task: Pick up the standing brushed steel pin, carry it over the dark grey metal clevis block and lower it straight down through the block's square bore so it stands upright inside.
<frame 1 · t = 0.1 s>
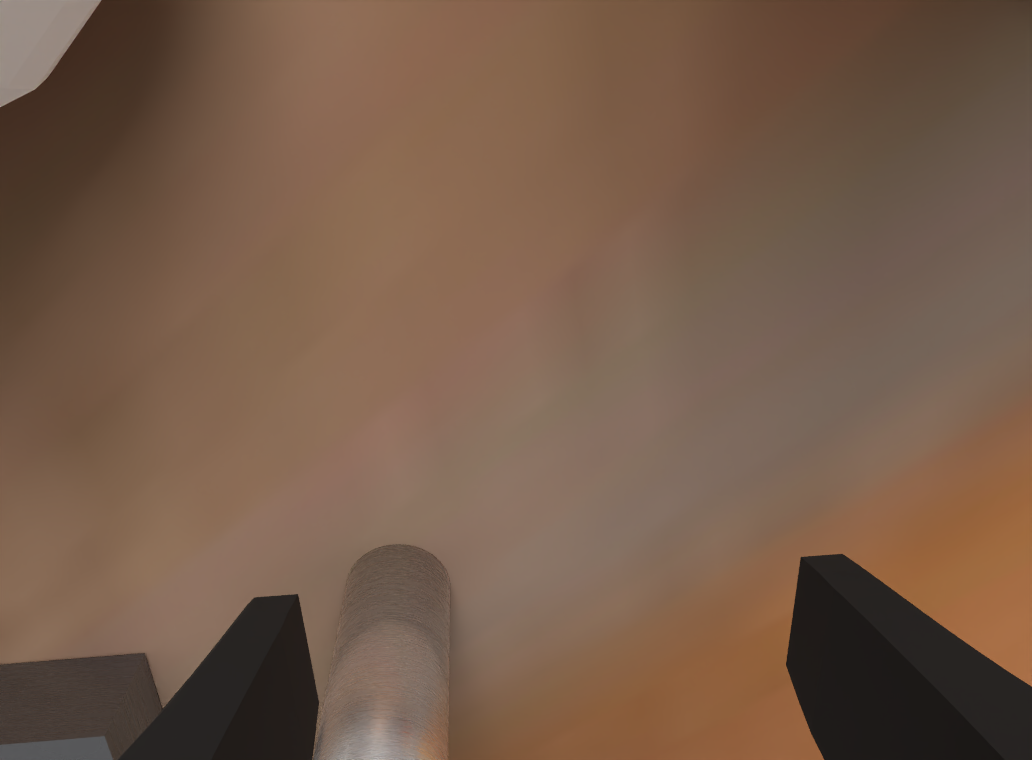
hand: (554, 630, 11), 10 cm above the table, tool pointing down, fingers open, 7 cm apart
pin: (398, 586, 23), on the table
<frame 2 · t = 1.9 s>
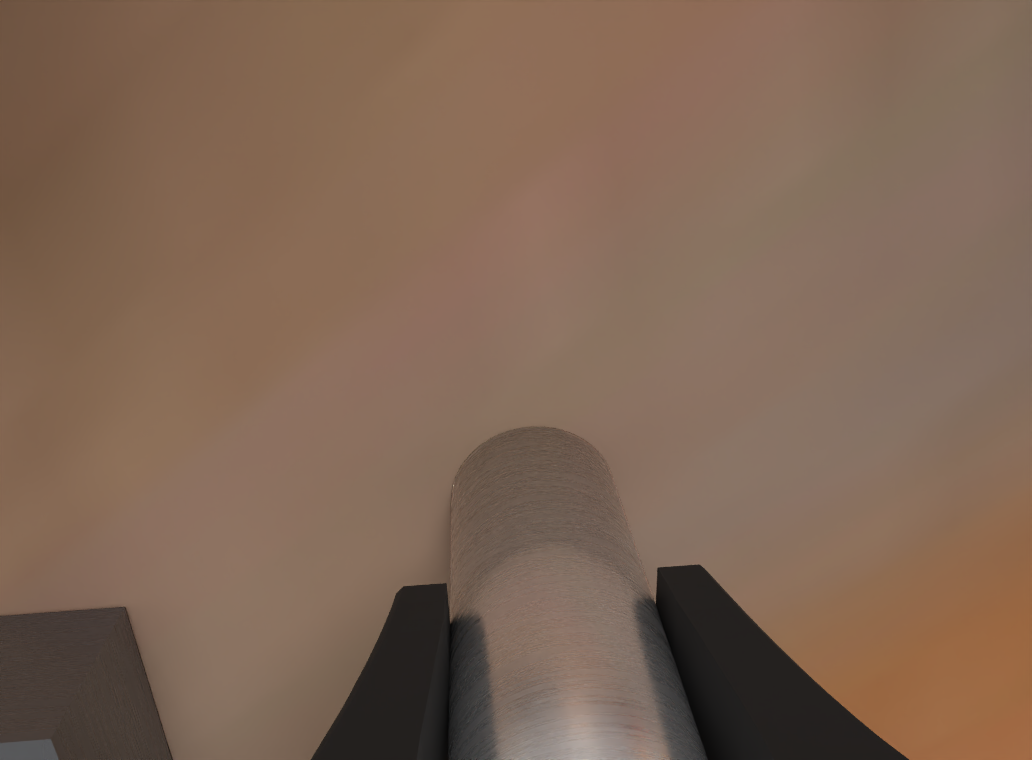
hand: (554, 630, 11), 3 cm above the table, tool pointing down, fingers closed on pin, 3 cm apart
pin: (533, 499, 15), on the table, touching gripper
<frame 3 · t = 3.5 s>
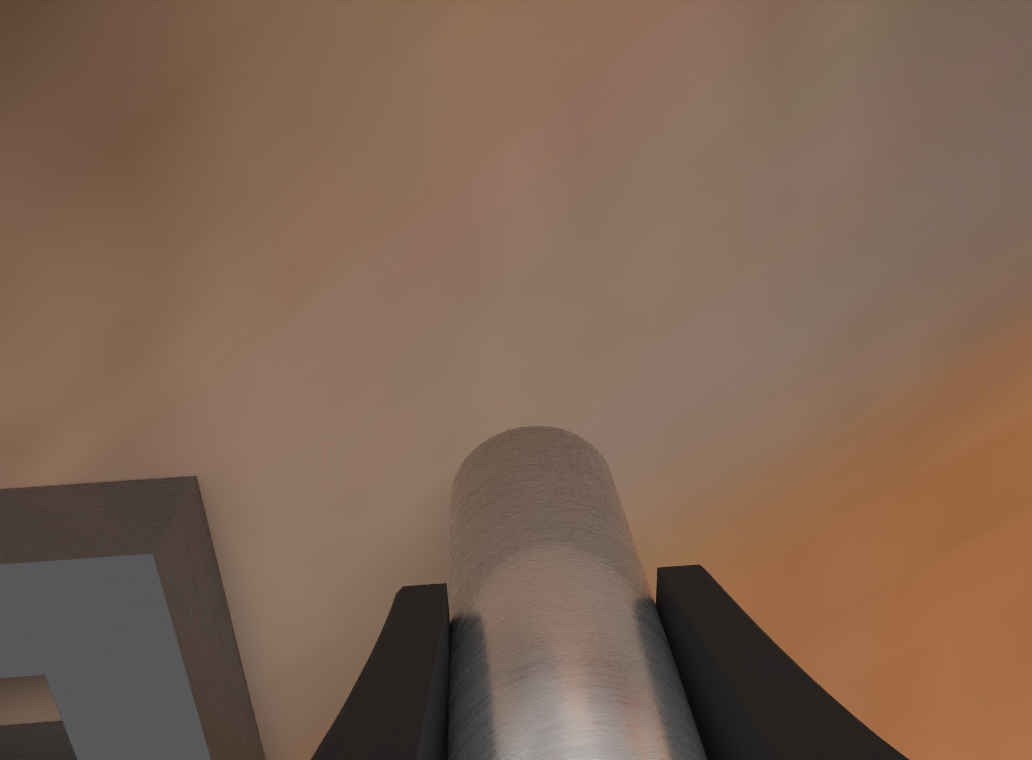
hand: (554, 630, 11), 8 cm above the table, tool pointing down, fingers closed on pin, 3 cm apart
clevis block: (35, 659, 21), on the table
pin: (533, 498, 15), point 5 cm above the table, touching gripper
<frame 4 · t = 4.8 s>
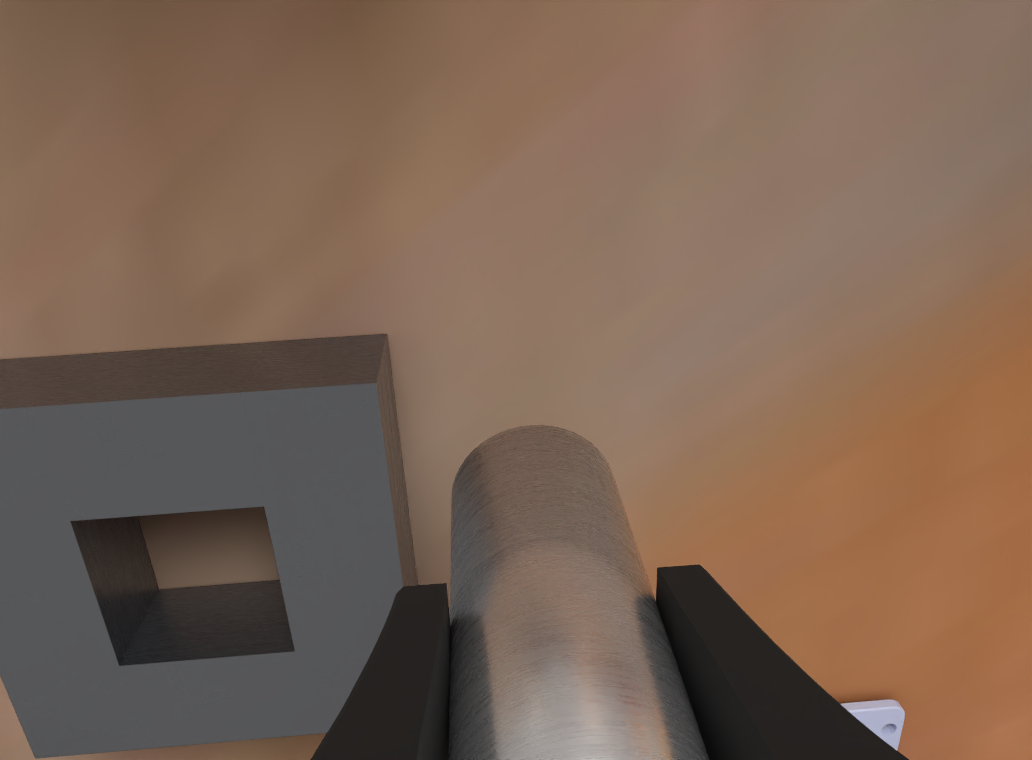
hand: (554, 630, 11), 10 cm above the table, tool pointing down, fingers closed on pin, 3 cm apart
clevis block: (221, 519, 22), on the table
pin: (533, 497, 15), point 7 cm above the table, touching gripper
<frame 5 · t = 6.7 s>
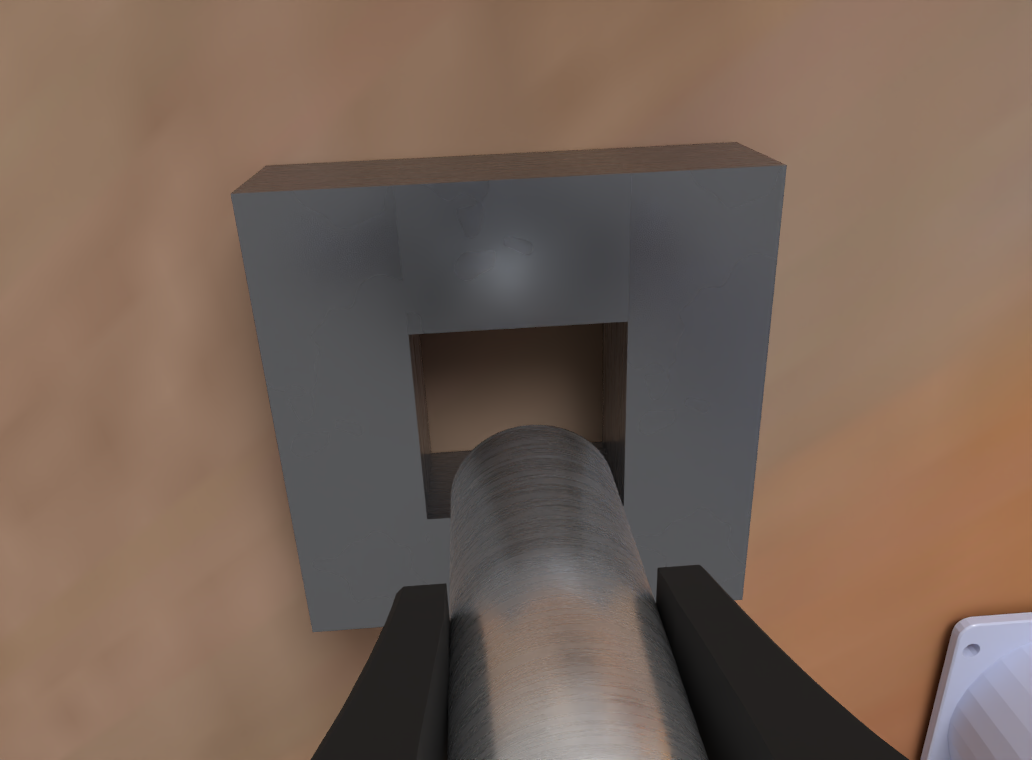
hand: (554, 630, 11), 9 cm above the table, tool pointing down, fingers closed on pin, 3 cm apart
clevis block: (513, 369, 20), on the table
pin: (533, 497, 15), point 6 cm above the table, touching gripper
when the fingers open (4 cm above the table, at t = 8.0 s): pin stays where it is, resting in clevis block.
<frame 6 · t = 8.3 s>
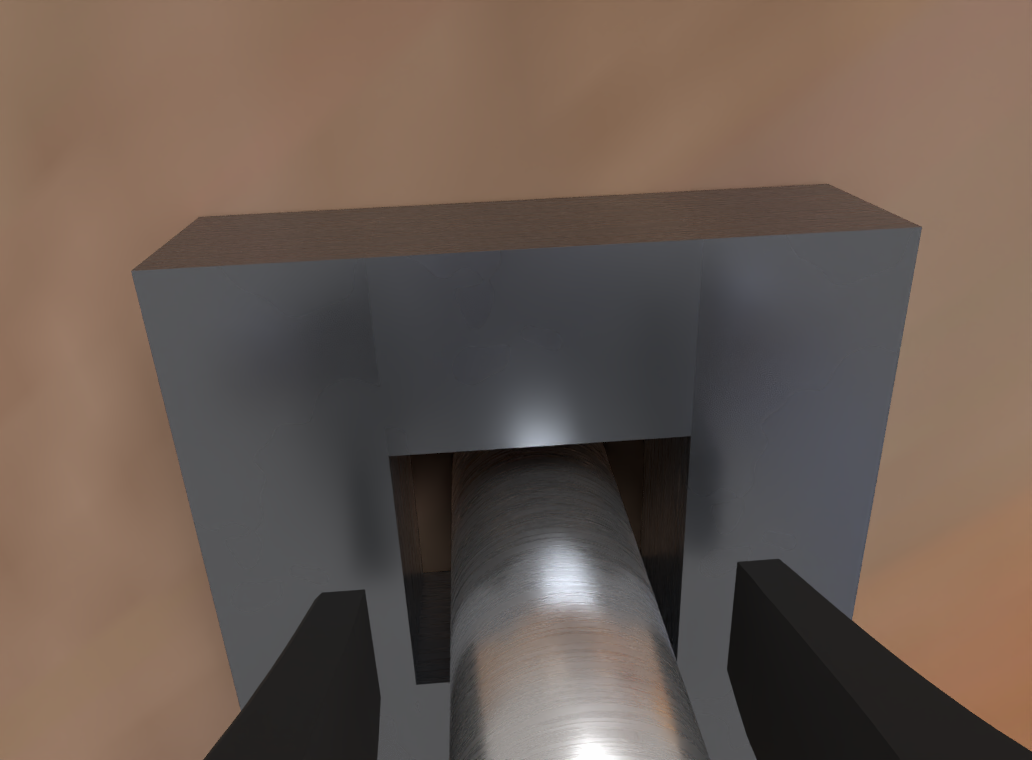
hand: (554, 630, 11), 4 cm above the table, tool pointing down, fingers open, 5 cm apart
clevis block: (529, 471, 15), on the table
pin: (529, 468, 15), resting in clevis block
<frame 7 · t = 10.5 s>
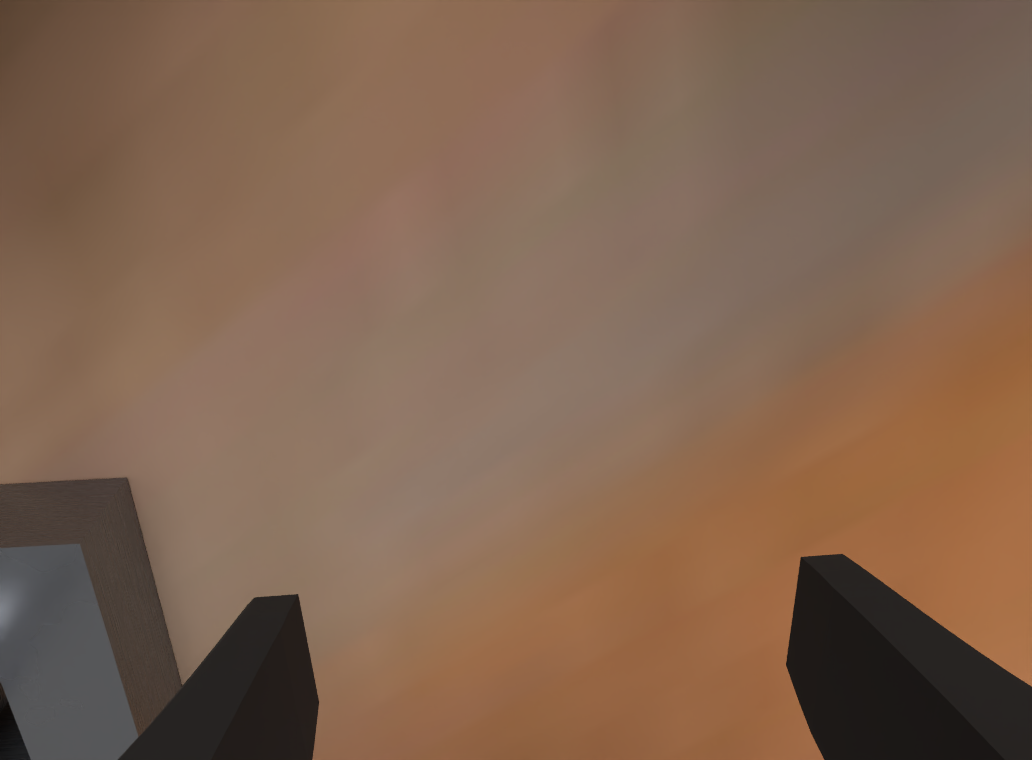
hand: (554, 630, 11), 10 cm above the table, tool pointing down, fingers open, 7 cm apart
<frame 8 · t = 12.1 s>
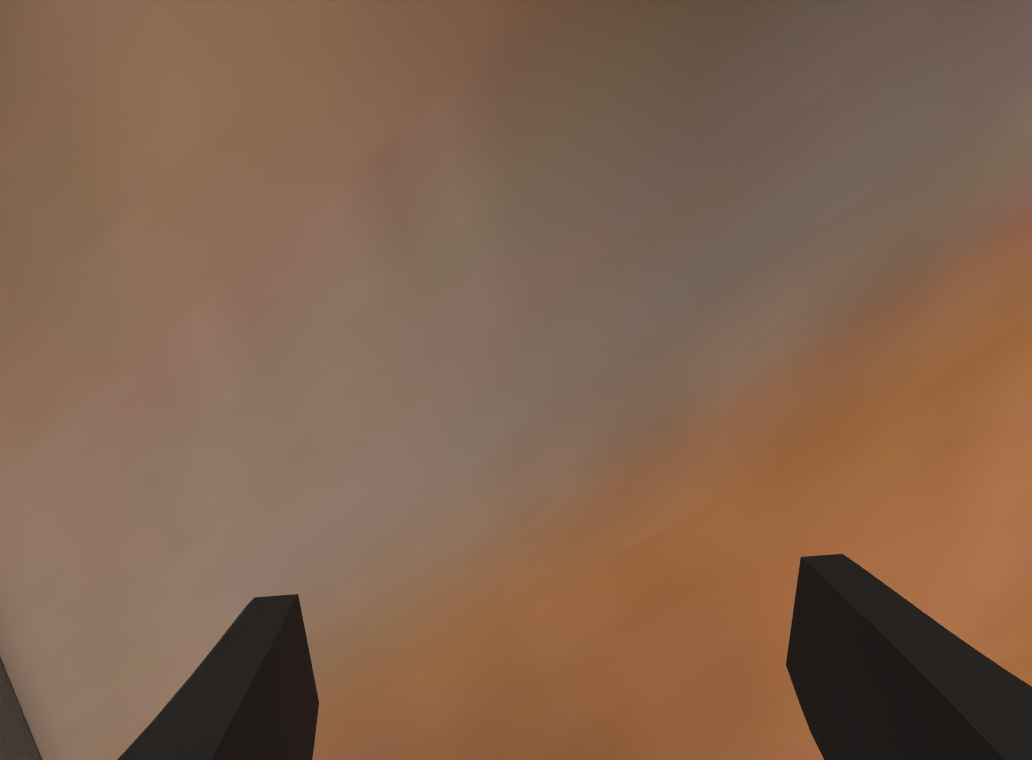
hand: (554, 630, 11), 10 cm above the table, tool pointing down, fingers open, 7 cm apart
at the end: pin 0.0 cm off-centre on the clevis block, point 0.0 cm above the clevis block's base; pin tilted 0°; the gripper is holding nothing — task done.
